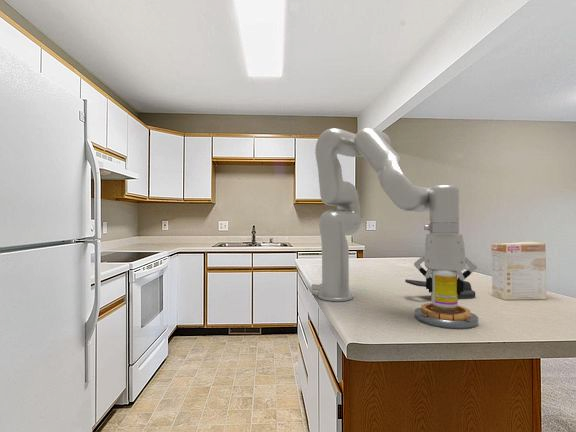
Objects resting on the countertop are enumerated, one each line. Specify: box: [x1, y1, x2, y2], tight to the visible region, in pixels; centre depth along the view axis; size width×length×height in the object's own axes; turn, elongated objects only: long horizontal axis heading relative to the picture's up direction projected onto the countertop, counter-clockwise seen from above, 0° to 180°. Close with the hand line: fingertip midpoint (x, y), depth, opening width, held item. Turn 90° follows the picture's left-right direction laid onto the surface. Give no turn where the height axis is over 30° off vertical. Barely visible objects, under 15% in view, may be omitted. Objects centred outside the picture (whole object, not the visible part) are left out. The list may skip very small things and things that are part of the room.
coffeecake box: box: [491, 241, 547, 301], centre depth 115 cm, size 15×7×20 cm, turn 91°
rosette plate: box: [414, 302, 479, 330], centre depth 91 cm, size 16×16×3 cm
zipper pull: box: [404, 278, 476, 300], centre depth 116 cm, size 9×7×25 cm
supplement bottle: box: [430, 270, 459, 308], centre depth 91 cm, size 7×7×13 cm
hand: (444, 292), depth 91 cm, fingers closed on supplement bottle, 6 cm apart
